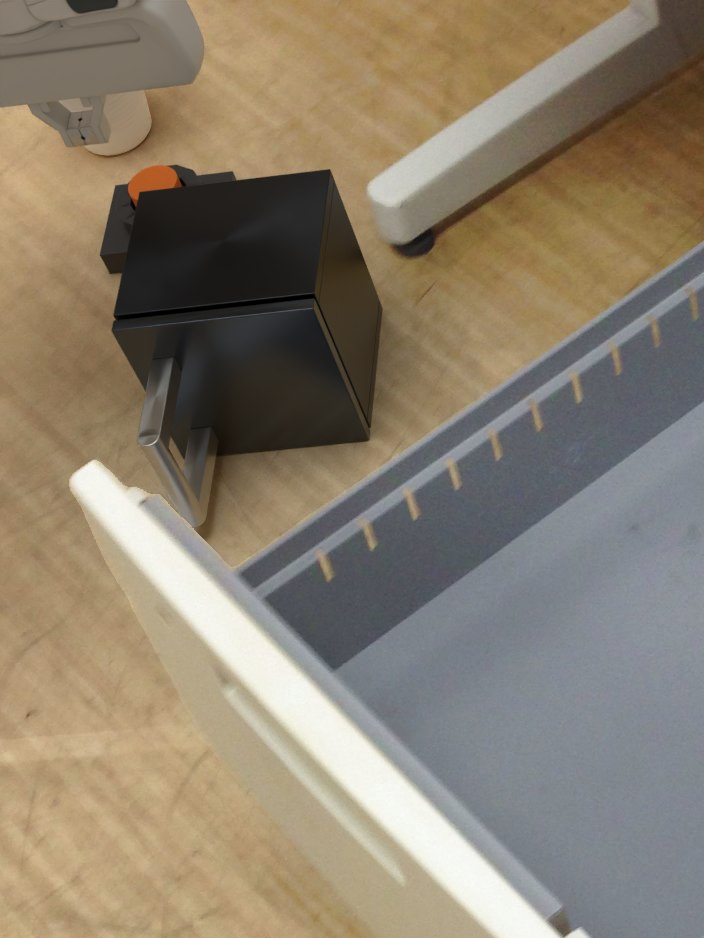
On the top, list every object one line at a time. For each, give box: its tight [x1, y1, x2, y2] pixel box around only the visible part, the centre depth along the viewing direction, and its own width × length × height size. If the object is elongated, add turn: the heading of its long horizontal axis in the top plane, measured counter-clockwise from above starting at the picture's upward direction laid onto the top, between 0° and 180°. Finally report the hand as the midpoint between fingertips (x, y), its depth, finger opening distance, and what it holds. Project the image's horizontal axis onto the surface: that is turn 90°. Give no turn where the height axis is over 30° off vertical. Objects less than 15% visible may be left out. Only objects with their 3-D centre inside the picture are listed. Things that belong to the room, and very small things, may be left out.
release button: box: [128, 164, 182, 206], centre depth 142 cm, size 4×4×2 cm
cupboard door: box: [110, 298, 371, 529], centre depth 123 cm, size 9×14×14 cm, turn 90°
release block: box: [99, 164, 237, 275], centre depth 144 cm, size 10×8×4 cm
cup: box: [58, 90, 153, 157], centre depth 149 cm, size 10×10×11 cm
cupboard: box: [112, 168, 384, 429], centre depth 129 cm, size 12×14×14 cm
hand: (90, 139), depth 126 cm, fingers closed
